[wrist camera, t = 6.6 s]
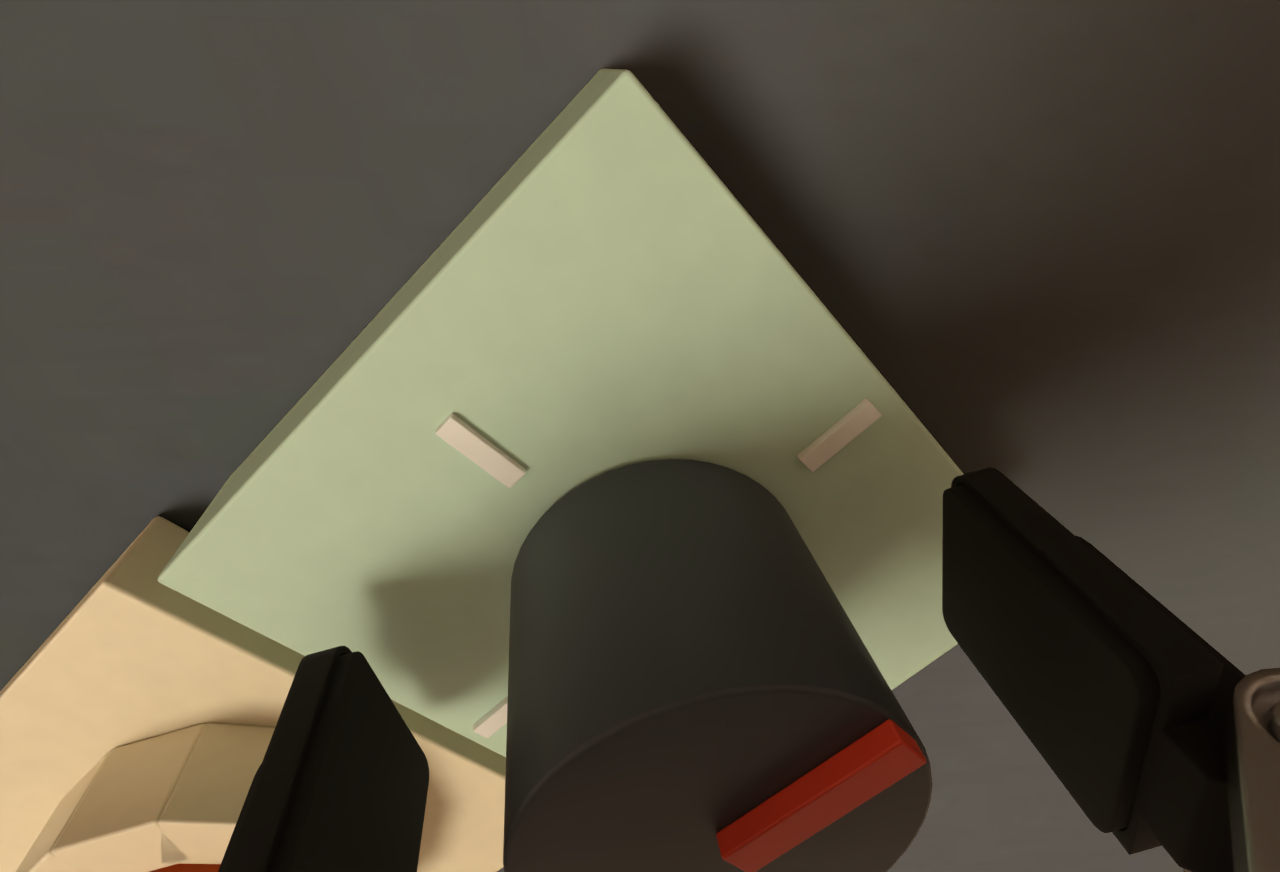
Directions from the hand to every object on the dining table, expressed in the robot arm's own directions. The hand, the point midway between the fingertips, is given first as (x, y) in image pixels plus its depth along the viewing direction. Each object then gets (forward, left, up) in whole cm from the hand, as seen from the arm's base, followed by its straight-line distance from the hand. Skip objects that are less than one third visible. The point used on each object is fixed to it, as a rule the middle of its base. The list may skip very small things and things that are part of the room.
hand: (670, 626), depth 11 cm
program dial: (0, 0, -1) cm, 1 cm away
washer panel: (0, 0, -4) cm, 4 cm away
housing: (-1, -11, -4) cm, 12 cm away
